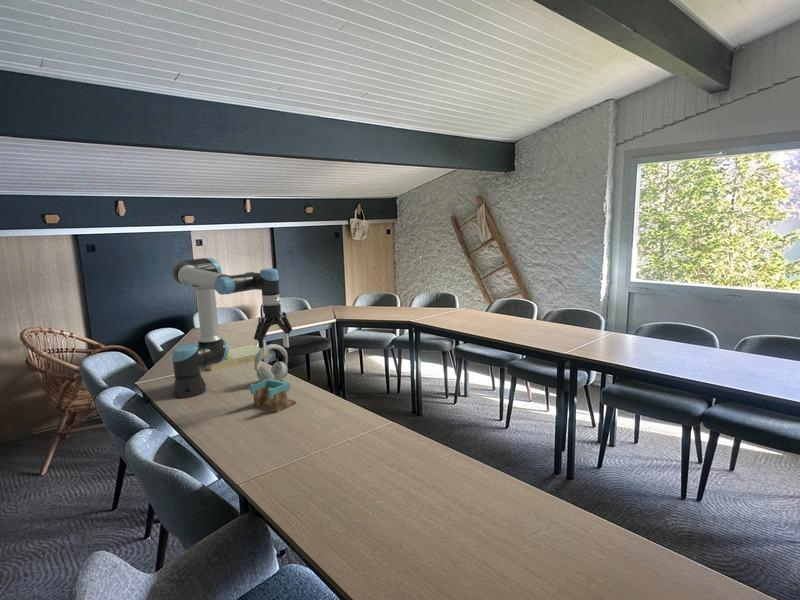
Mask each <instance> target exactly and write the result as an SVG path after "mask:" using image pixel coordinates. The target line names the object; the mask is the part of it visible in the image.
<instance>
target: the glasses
mask: <svg viewBox="0 0 800 600" xmlns="http://www.w3.org/2000/svg"><path fill="white" fill-rule="evenodd" d="M265 386H269V389H268V398H270V399H272V398H274V396H273V395H275V394H277V393H279V392H282V391H284V390H287V392H289V391H291V383H290V382H288V381H284V380H281V381H280V380H275V379H271V378H270V379H267V380H265V381H262V382H261V381H260V382H257V383H255V384H253V383H251V384H250V385H249V389H250V390H249V391H250V395H253V394H255V393H256V392H255V391H256V390H258V389H261V388H263V387H265ZM277 386H278V387H277Z"/></svg>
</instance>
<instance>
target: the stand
mask: <svg viewBox="0 0 800 600" xmlns="http://www.w3.org/2000/svg"><path fill="white" fill-rule="evenodd" d="M277 387H278V386H277ZM268 389H270V388H269V386H265V387H263V388H261V389H258V390H256V391H255V392H256V393H255V394H252V395H253V396H252V397H253V407H256V408H259V407H260V408H259V409H263V408H264V409H263V410H267V409H268V410H267V411H270V410H271V412H274V411H275V412H274V413H280V412H281V410H282V411H283V409H284V410H287V409H288V408H290V407H292V406H295V405H296V404H297V402H296V400H292V399H288V393H287V392H288V391H287V390H284V391H282V392H279V393H277V394H275V395H273V396H274V398H272V399H270V398H268ZM287 407H288V408H287ZM279 411H280V412H279Z"/></svg>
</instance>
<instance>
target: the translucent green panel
mask: <svg viewBox="0 0 800 600" xmlns="http://www.w3.org/2000/svg"><path fill="white" fill-rule="evenodd" d="M228 349H229V348H228ZM259 350H260V348H259V346H256V345H255V344H248V345H245V346H240V347H235V348H234V347H233V348H230V349H229V351H228V356H227V358H226V359H225V360H224V361H222V362H220V363H218V364H213V365H210V366H207V367H204V368H206V369H207V370H208V371H210V370H211V371H210V372H213V370H214V371H218V370H221V369H227V368H229V367H234V366H238V365H243V364H248V363H250V362H251V363H252V362H255V361H254V360H255V357H256V355H257V353H258V352H259ZM268 358H270V350H268V351H267V352H266V355H263V356H262V358H261V360H264V359H268Z"/></svg>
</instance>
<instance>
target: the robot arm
mask: <svg viewBox="0 0 800 600" xmlns="http://www.w3.org/2000/svg"><path fill="white" fill-rule="evenodd" d="M221 267H222V266H221V265H220V264H219V262H218V261H217V260H216V259H214V258H212V257H203V258H201V257H200V258H193V259H184V260H180V261H178V262H177V263H176V264H175V265H174V266H173V268H172V269H171V276H172V278H173V280H174V281H175V283H177V284H180V285H183V286H191V285H192V288H193V289H195V290H196V291H195V292H196V301H197V303H196V304H197V310H198V321H199V322H198V324H199V332H200V334H199V335H200V337H198V339H197V343H194V342H190V343H185V344H181V345H178V346H177V347H175V348H174V349H173V350H172V354H171V355H172V357H171V358H172V360H171V361H172V365H173V374H174V383H173V386H172V396H173V397H174V398H178V397H180V399H181V398H182V399H184V398H183V397H186V398H191V397H196V396H199V395H201V394H204V393H205V392H206V391H207V384H206V383H205V381H204V378H203V377H202V376H203V375H202V374H201V373H202V371H201V369H203V368H205V367H207V366H210V365H213V364H218V363H220V362H222V361H224V360H225V359H226V358H227V356H228V351H229V346H228V343H227V341H226V340H225V339H223V336H221V335H220V333H219V332H220V331H219V330H220V329H219V323H218V322H219V320H218V309H217V300H216V297H217V296H216V292H217V294H219V295H221V296H223V295H231V294H236V293H242V292H248V291H253V290H254V291H255V290H257V291H258V290H259V291H261V300H262V304H263V305H262V313H263V314H264V315H263V317H261V316H260V317H258V324H257V326H256V330H255V333H254V336H253V339H254V340H255V341H257V343H258V347H259V348H260V354H261V355H266V348H265V346H266V340H265V337H266V335H267V333H268V331H269V328H271V327H272V326H274V325H277V326H278V327H279V328H280V329H281V331H282V342H283V346H282V347H283V348H289V347H290V343H289V342H290V341H289V340H290V334H291V332H292V331H293V327H292V325H291V324H290V322H289V319H288V317H287V313H286V312H284V311H282V307H281V295H280V277H279V271H278V269H277V268H262V269H260V271H259V272H254V271H250V272H249V271H248V272H245V273H242V274H235V275H234V274H233V275H232V274H231V275H229V274H225V273H223V271H222V268H221Z"/></svg>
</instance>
